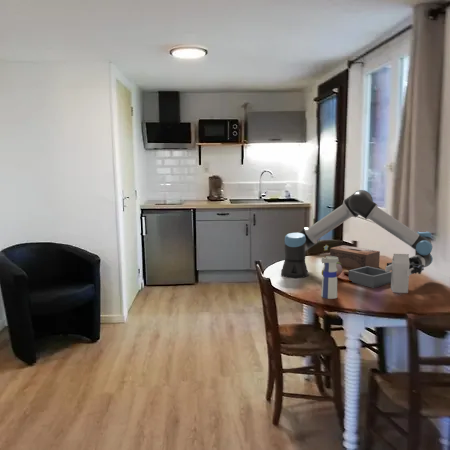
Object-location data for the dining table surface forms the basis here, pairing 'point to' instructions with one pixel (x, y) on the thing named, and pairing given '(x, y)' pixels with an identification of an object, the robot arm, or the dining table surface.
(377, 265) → the tissue box cover
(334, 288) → the water bottle
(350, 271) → the bin
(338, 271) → the decorative fruit
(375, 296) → the dining table surface
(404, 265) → the milk carton
